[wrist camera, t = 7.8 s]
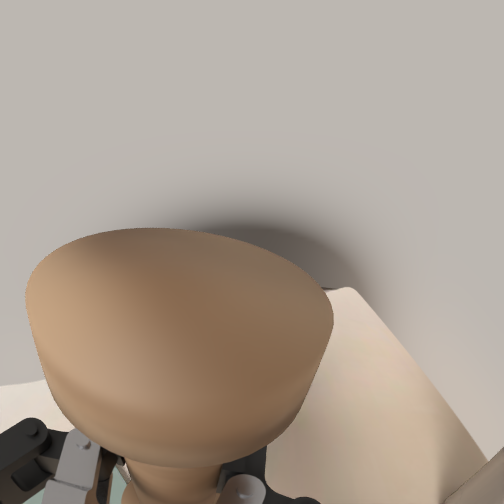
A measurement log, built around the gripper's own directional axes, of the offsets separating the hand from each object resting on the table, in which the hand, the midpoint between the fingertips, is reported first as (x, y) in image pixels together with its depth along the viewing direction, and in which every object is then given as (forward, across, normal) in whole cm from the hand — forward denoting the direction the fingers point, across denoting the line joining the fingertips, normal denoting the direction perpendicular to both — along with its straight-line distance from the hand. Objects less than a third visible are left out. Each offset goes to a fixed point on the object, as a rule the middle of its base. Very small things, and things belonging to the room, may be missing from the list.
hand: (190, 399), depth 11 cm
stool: (-3, 0, +8) cm, 8 cm away
